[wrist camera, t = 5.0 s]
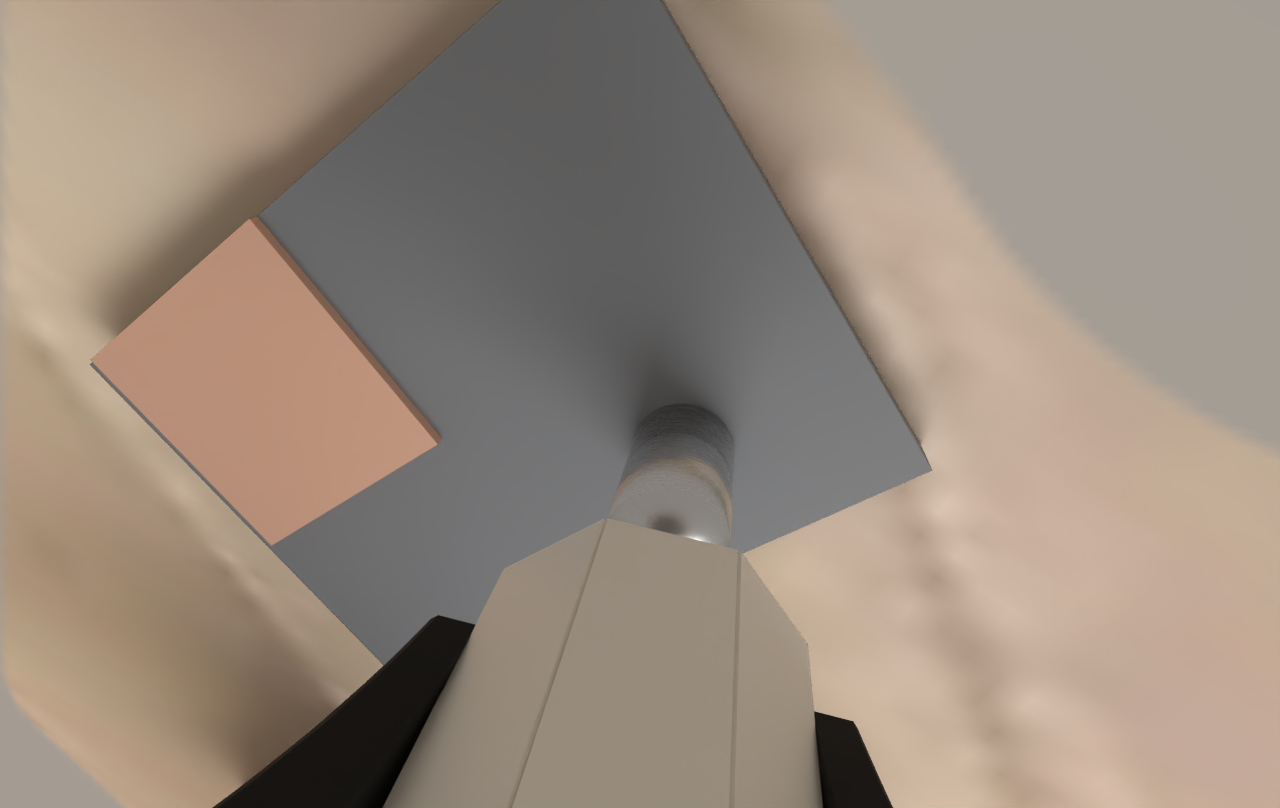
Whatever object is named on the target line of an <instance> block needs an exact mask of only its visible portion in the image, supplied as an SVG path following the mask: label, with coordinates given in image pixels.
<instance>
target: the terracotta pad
mask: <svg viewBox="0 0 1280 808" xmlns="http://www.w3.org/2000/svg"><path fill="white" fill-rule="evenodd" d="M91 361H92V362H93V363H94V364H95V365H96V366H97V367H98V368H99V369H100V370H101V371H102V372H103V373H104V375H105V376H106V377H107V378H108V379H109V380H110V381H111V382H112V383H113V384H114V385H115V386H116V387H117V388H118V389H119V390H120V391H121V392H122V393H123V394H124V395H125V396H126V397H127V398H128V399H129V400H130V401H131V402H132V403H133V404H134V405H135V406H136V407H137V408H138V409H139V410H140V411H141V412H142V413H143V415H144V416H145V417H146V418H147V419H148V420H149V421H150V422H151V423H152V424H153V425H154V426H155V427H156V428H157V429H158V430H159V431H160V432H161V433H162V434H163V435H164V436H165V437H166V438H167V439H168V440H169V441H170V442H171V443H172V444H173V445H174V446H175V447H176V448H177V449H178V450H179V451H180V452H181V453H182V454H183V456H184V457H185V458H186V459H187V460H188V461H189V462H190V463H191V464H192V465H193V466H194V467H195V468H196V469H197V470H198V471H199V472H200V473H201V474H202V475H203V476H204V477H205V478H206V479H207V480H208V481H209V482H210V483H211V484H212V485H213V486H214V487H215V488H216V489H217V490H218V491H219V492H220V493H221V494H222V496H223V497H224V498H225V499H226V500H227V501H228V502H229V503H230V504H231V505H232V506H233V507H234V508H235V509H236V510H237V511H238V512H239V513H240V514H241V515H242V516H243V517H244V518H245V519H246V520H247V521H248V522H249V523H250V524H251V525H252V526H253V527H254V528H255V529H256V530H257V531H258V532H259V533H260V534H261V535H262V537H263V538H264V539H265V540H266V541H267V542H268V543H269V544H270V545H271V546H272V545H273V544H275V543H277V542H278V541H280V540H282V539H283V538H285V537H287V536H288V535H290V534H291V533H293V532H295V531H296V530H298V529H300V528H301V527H303V526H305V525H306V524H308V523H310V522H311V521H313V520H314V519H316V518H318V517H319V516H321V515H323V514H324V513H326V512H328V511H329V510H331V509H332V508H334V507H336V506H337V505H339V504H341V503H342V502H344V501H346V500H347V499H349V498H351V497H352V496H354V495H355V494H357V493H359V492H360V491H362V490H364V489H365V488H367V487H369V486H370V485H372V484H373V483H375V482H377V481H378V480H380V479H382V478H383V477H385V476H387V475H388V474H390V473H392V472H393V471H395V470H396V469H398V468H400V467H401V466H403V465H405V464H406V463H408V462H410V461H411V460H413V459H414V458H416V457H418V456H419V455H421V454H423V453H424V452H426V451H428V450H429V449H431V448H433V447H434V446H436V445H437V444H438V443H439V442H440V441H441V440H442V438H441V437H440V436H439V435H438V433H437V432H436V431H435V430H434V429H433V427H432V426H431V425H430V424H429V423H428V421H427V420H426V419H425V418H424V417H423V415H422V414H421V413H420V412H419V411H418V409H417V408H416V407H415V406H414V405H413V403H412V402H411V401H410V400H409V399H408V397H407V396H406V395H405V394H404V392H403V391H402V390H401V389H400V388H399V386H398V385H397V384H396V383H395V382H394V380H393V379H392V378H391V377H390V376H389V374H388V373H387V372H386V371H385V370H384V368H383V367H382V366H381V365H380V364H379V362H378V361H377V360H376V359H375V358H374V356H373V355H372V354H371V353H370V352H369V350H368V349H367V348H366V347H365V346H364V344H363V343H362V342H361V341H360V339H359V338H358V337H357V336H356V335H355V333H354V332H353V331H352V330H351V329H350V327H349V326H348V325H347V324H346V323H345V321H344V320H343V319H342V318H341V317H340V315H339V314H338V313H337V312H336V311H335V309H334V308H333V307H332V306H331V305H330V303H329V302H328V301H327V300H326V299H325V297H324V296H323V295H322V294H321V293H320V291H319V290H318V289H317V288H316V287H315V285H314V284H313V283H312V282H311V280H310V279H309V278H308V277H307V276H306V274H305V273H304V272H303V271H302V270H301V268H300V267H299V266H298V265H297V264H296V262H295V261H294V260H293V259H292V258H291V256H290V255H289V254H288V253H287V252H286V250H285V249H284V248H283V247H282V246H281V244H280V243H279V242H278V241H277V240H276V238H275V237H274V236H273V235H272V234H271V232H270V231H269V230H268V229H267V227H266V226H265V225H264V224H263V223H262V221H261V220H260V219H259V218H258V217H253V218H250V219H248V220H247V221H246V222H245V223H244V224H243V225H241V226H240V227H239V228H238V229H237V230H236V231H235V232H234V233H232V234H231V235H230V236H229V237H228V238H227V239H226V240H225V241H223V242H222V243H221V244H220V245H219V246H218V247H217V248H216V249H214V250H213V251H212V252H211V253H210V254H209V255H208V256H207V257H205V258H204V259H203V260H202V261H201V262H200V263H199V264H198V265H196V266H195V267H194V268H193V269H192V270H191V271H190V272H189V273H187V274H186V275H185V276H184V277H183V278H182V279H181V280H180V281H178V282H177V283H176V284H175V285H174V286H173V287H172V288H171V289H169V290H168V291H167V292H166V293H165V294H164V295H163V296H162V297H160V298H159V299H158V300H157V301H156V302H155V303H154V304H153V305H151V306H150V307H149V308H148V309H147V310H146V311H145V312H144V313H142V314H141V315H140V316H139V317H138V318H137V319H136V320H135V321H133V322H132V323H131V324H130V325H129V326H128V327H127V328H126V329H124V330H123V331H122V332H121V333H120V334H119V335H118V336H117V337H115V338H114V339H113V340H112V341H111V342H110V343H109V344H108V345H106V346H105V347H104V348H103V349H102V350H101V351H100V352H99V353H97V354H96V355H95V356H94V357H93V358H92V359H91Z"/></svg>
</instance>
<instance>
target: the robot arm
mask: <svg viewBox="0 0 1280 808" xmlns="http://www.w3.org/2000/svg"><path fill="white" fill-rule="evenodd" d="M474 627H475V624H471V623H467V622H464V621H460V620H456V619H452V618H448V617H444V616H440V615H437V616H435V617H433V618H431V619H430V620H429V621H428V622H427V623H426V624H425V625H424V626H423V627H422V628H421V629H420V630H419V631H418V632H417V633H416V634H415V635H414V636H413V637H412V638H411V639H410V640H409V641H408V642H407V643H406V644H405V645H404V646H403V647H402V648H401V649H400V650H399V651H398V652H397V653H396V654H395V655H394V656H393V657H392V658H391V659H390V660H389V661H388V662H387V663H386V664H385V665H384V666H383V667H382V668H381V669H380V670H378V671H377V672H376V673H375V674H374V675H373V676H372V677H371V678H370V679H369V680H368V681H367V682H366V683H365V684H363V685H362V686H361V687H360V688H359V689H358V690H357V691H356V692H354V693H353V694H352V695H351V696H350V697H349V698H348V699H347V700H345V701H344V702H343V703H342V704H341V705H340V706H339V707H337V708H336V709H335V710H334V711H333V712H332V713H331V714H330V715H328V716H327V717H326V718H325V719H324V720H323V721H322V722H320V723H319V724H318V725H317V726H316V727H315V728H313V729H312V730H311V731H310V732H309V733H307V734H306V735H305V736H304V737H302V738H301V739H300V740H299V741H298V742H296V743H295V744H294V745H293V746H291V747H290V748H289V749H288V750H286V751H285V752H284V753H283V754H281V755H280V756H279V757H278V758H276V759H275V760H274V761H273V762H272V763H270V764H269V765H268V766H267V767H265V768H264V769H263V770H262V771H260V772H259V773H258V774H257V775H255V776H254V777H253V778H251V779H250V780H249V781H248V782H246V783H245V784H244V785H242V786H241V787H240V788H238V789H237V790H236V791H234V792H233V793H232V794H230V795H229V796H228V797H226V798H225V799H224V800H222V801H221V802H220V803H218V804H217V805H216V806H214V807H213V808H383V806H384V804H385V802H386V800H387V798H388V796H389V794H390V792H391V790H392V788H393V786H394V784H395V782H396V780H397V778H398V776H399V774H400V772H401V770H402V768H403V766H404V764H405V762H406V761H407V759H408V757H409V755H410V753H411V751H412V749H413V747H414V745H415V743H416V741H417V739H418V737H419V735H420V733H421V731H422V729H423V727H424V725H425V723H426V721H427V719H428V717H429V715H430V713H431V711H432V709H433V707H434V705H435V703H436V701H437V699H438V697H439V695H440V694H441V692H442V690H443V689H444V687H445V685H446V683H447V681H448V679H449V677H450V675H451V673H452V671H453V669H454V667H455V665H456V663H457V661H458V659H459V657H460V655H461V653H462V651H463V649H464V647H465V645H466V643H467V641H468V639H469V637H470V635H471V633H472V631H473V629H474ZM814 717H815V728H816V739H817V750H818V760H819V771H820V782H821V791H822V802H823V808H893V807H892V805H891V802H890V800H889V798H888V796H887V794H886V792H885V789H884V787H883V785H882V783H881V781H880V778H879V776H878V774H877V772H876V769H875V767H874V765H873V763H872V760H871V758H870V756H869V753H868V751H867V749H866V747H865V744H864V742H863V740H862V737H861V735H860V733H859V731H858V728H857V727H856V725H855V724H854V722H853V721H849V720H846V719H842V718H838V717H834V716H830V715H826V714H822V713H818V712H814Z"/></svg>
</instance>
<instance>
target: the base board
mask: <svg viewBox="0 0 1280 808" xmlns="http://www.w3.org/2000/svg"><path fill="white" fill-rule="evenodd" d="M257 217H258V218H259V219H260V220H261V221H262V223H263V224H264V225H265V226H266V227H267V229H268V230H269V231H270V232H271V234H272V235H273V236H274V237H275V238H276V240H277V241H278V242H279V243H280V244H281V246H282V247H283V248H284V249H285V250H286V252H287V253H288V254H289V255H290V256H291V258H292V259H293V260H294V261H295V262H296V264H297V265H298V266H299V267H300V268H301V270H302V271H303V272H304V273H305V274H306V276H307V277H308V278H309V279H310V280H311V282H312V283H313V284H314V285H315V287H316V288H317V289H318V290H319V291H320V293H321V294H322V295H323V296H324V297H325V299H326V300H327V301H328V302H329V303H330V305H331V306H332V307H333V308H334V309H335V311H336V312H337V313H338V314H339V315H340V317H341V318H342V319H343V320H344V321H345V323H346V324H347V325H348V326H349V327H350V329H351V330H352V331H353V332H354V333H355V335H356V336H357V337H358V338H359V339H360V341H361V342H362V343H363V344H364V346H365V347H366V348H367V349H368V350H369V352H370V353H371V354H372V355H373V356H374V358H375V359H376V360H377V361H378V362H379V364H380V365H381V366H382V367H383V368H384V370H385V371H386V372H387V373H388V374H389V376H390V377H391V378H392V379H393V380H394V382H395V383H396V384H397V385H398V386H399V388H400V389H401V390H402V391H403V392H404V394H405V395H406V396H407V397H408V399H409V400H410V401H411V402H412V403H413V405H414V406H415V407H416V408H417V409H418V411H419V412H420V413H421V414H422V415H423V417H424V418H425V419H426V420H427V421H428V423H429V424H430V425H431V426H432V427H433V429H434V430H435V431H436V432H437V433H438V435H439V436H440V437H441V438H442V440H441V441H440V442H439V443H438V444H437V445H436V446H434V447H433V448H431V449H429V450H428V451H426V452H424V453H423V454H421V455H419V456H418V457H416V458H414V459H413V460H411V461H410V462H408V463H406V464H405V465H403V466H401V467H400V468H398V469H396V470H395V471H393V472H392V473H390V474H388V475H387V476H385V477H383V478H382V479H380V480H378V481H377V482H375V483H373V484H372V485H370V486H369V487H367V488H365V489H364V490H362V491H360V492H359V493H357V494H355V495H354V496H352V497H351V498H349V499H347V500H346V501H344V502H342V503H341V504H339V505H337V506H336V507H334V508H332V509H331V510H329V511H328V512H326V513H324V514H323V515H321V516H319V517H318V518H316V519H314V520H313V521H311V522H310V523H308V524H306V525H305V526H303V527H301V528H300V529H298V530H296V531H295V532H293V533H291V534H290V535H288V536H287V537H285V538H283V539H282V540H280V541H278V542H277V543H275V544H273V545H272V546H271V545H270V544H269V543H268V542H267V541H266V540H265V539H264V538H263V537H262V535H261V534H260V533H259V532H258V531H257V530H256V529H255V528H254V527H253V526H252V525H251V524H250V523H249V522H248V521H247V520H246V519H245V518H244V517H243V516H242V515H241V514H240V513H239V512H238V511H237V510H236V509H235V508H234V507H233V506H232V505H231V504H230V503H229V502H228V501H227V500H226V499H225V498H224V497H223V496H222V494H221V493H220V492H219V491H218V490H217V489H216V488H215V487H214V486H213V485H212V484H211V483H210V482H209V481H208V480H207V479H206V478H205V477H204V476H203V475H202V474H201V473H200V472H199V471H198V470H197V469H196V468H195V467H194V466H193V465H192V464H191V463H190V462H189V461H188V460H187V459H186V458H185V457H184V456H183V454H182V453H181V452H180V451H179V450H178V449H177V448H176V447H175V446H174V445H173V444H172V443H171V442H170V441H169V440H168V439H167V438H166V437H165V436H164V435H163V434H162V433H161V432H160V431H159V430H158V429H157V428H156V427H155V426H154V425H153V424H152V423H151V422H150V421H149V420H148V419H147V418H146V417H145V416H144V415H143V413H142V412H141V411H140V410H139V409H138V408H137V407H136V406H135V405H134V404H133V403H132V402H131V401H130V400H129V399H128V398H127V397H126V396H125V395H124V394H123V393H122V392H121V391H120V390H119V389H118V388H117V387H116V386H115V385H114V384H113V383H112V382H111V381H110V380H109V379H108V378H107V377H106V376H105V375H104V373H103V372H102V371H101V370H100V369H99V368H98V367H97V366H96V365H95V364H94V363H93V362H92V363H91V364H90V365H91V366H92V367H93V368H94V369H95V370H96V371H97V372H98V373H99V374H100V375H101V377H102V378H103V379H104V380H105V381H106V382H107V383H108V384H109V385H110V386H111V387H112V388H113V389H114V390H115V391H116V392H117V393H118V394H119V395H120V396H121V397H122V398H123V399H124V400H125V401H126V402H127V403H128V404H129V405H130V406H131V407H132V408H133V409H134V410H135V411H136V412H137V413H138V414H139V415H140V416H141V417H142V418H143V419H144V420H145V422H146V423H147V424H148V425H149V426H150V427H151V428H152V429H153V430H154V431H155V432H156V433H157V434H158V435H159V436H160V437H161V438H162V439H163V440H164V441H165V442H166V443H167V444H168V445H169V446H170V447H171V448H172V449H173V450H174V451H175V452H176V453H177V454H178V455H179V456H180V457H181V458H182V459H183V460H184V461H185V462H186V463H187V464H188V465H189V467H190V468H191V469H192V470H193V471H194V472H195V473H196V474H197V475H198V476H199V477H200V478H201V479H202V480H203V481H204V482H205V483H206V484H207V485H208V486H209V487H210V488H211V489H212V490H213V491H214V492H215V493H216V494H217V495H218V496H219V497H220V498H221V499H222V500H223V501H224V502H225V503H226V504H227V505H228V506H229V507H230V508H231V509H232V510H233V511H234V513H235V514H236V515H237V516H238V517H239V518H240V519H241V520H242V521H243V522H244V523H245V524H246V525H247V526H248V527H249V528H250V529H251V530H252V531H253V532H254V533H255V534H256V535H257V536H258V537H259V538H260V539H261V540H262V541H263V542H264V543H265V544H266V545H267V546H268V547H269V548H270V549H271V550H272V551H273V552H274V553H275V554H276V555H277V556H278V558H279V559H280V560H281V561H282V562H283V563H284V564H285V565H286V566H287V567H288V568H289V569H290V570H291V571H292V572H293V573H294V574H295V575H296V576H297V577H298V578H299V579H300V580H301V581H302V582H303V583H304V584H305V585H306V586H307V587H308V588H309V589H310V590H311V591H312V592H313V593H314V594H315V595H316V596H317V597H318V598H319V599H320V600H321V601H322V603H323V604H324V605H325V606H326V607H327V608H328V609H329V610H330V611H331V612H332V613H333V614H334V615H335V616H336V617H337V618H338V619H339V620H340V621H341V622H342V623H343V624H344V625H345V626H346V627H347V628H348V629H349V630H350V631H351V632H352V633H353V634H354V635H355V636H356V637H357V638H358V639H359V640H360V641H361V642H362V643H363V644H364V645H365V646H366V648H367V649H368V650H369V651H370V652H371V653H372V654H373V655H374V656H375V657H376V658H377V659H378V660H379V661H380V662H381V663H382V664H383V665H385V664H386V663H387V662H388V661H389V660H390V659H391V658H392V657H393V656H394V655H395V654H396V653H397V652H398V651H399V650H400V649H401V648H402V647H403V646H404V645H405V644H406V643H407V642H408V641H409V640H410V639H411V638H412V637H413V636H414V635H415V634H416V633H417V632H418V631H419V630H420V629H421V628H422V627H423V626H424V625H425V624H426V623H427V622H428V621H429V620H430V619H431V618H433V617H435V616H437V615H440V616H444V617H448V618H452V619H456V620H460V621H464V622H467V623H471V624H476V622H477V620H478V618H479V616H480V614H481V612H482V610H483V608H484V606H485V604H486V602H487V600H488V598H489V597H490V595H491V593H492V591H493V589H494V587H495V585H496V583H497V581H498V579H499V577H500V575H501V573H502V571H503V570H504V568H506V567H508V566H510V565H512V564H514V563H516V562H518V561H520V560H522V559H524V558H526V557H528V556H530V555H532V554H534V553H536V552H538V551H540V550H542V549H544V548H546V547H548V546H550V545H552V544H554V543H556V542H558V541H560V540H562V539H564V538H566V537H568V536H570V535H572V534H574V533H576V532H578V531H580V530H582V529H584V528H586V527H588V526H590V525H592V524H594V523H596V522H598V521H600V520H602V519H604V520H605V521H607V518H608V515H609V512H610V509H611V506H612V503H613V500H614V497H615V494H616V491H617V488H618V485H619V482H620V479H621V476H622V473H623V470H624V467H625V464H626V461H627V458H628V455H629V451H630V448H631V445H632V442H633V439H634V436H635V433H636V431H637V429H638V427H639V425H640V424H641V422H642V421H643V420H644V419H645V418H646V417H647V416H648V415H649V414H650V413H652V412H653V411H655V410H657V409H659V408H661V407H664V406H667V405H673V404H690V405H695V406H699V407H702V408H704V409H706V410H708V411H710V412H712V413H714V414H715V415H716V416H717V417H719V418H720V419H721V420H722V421H723V422H724V424H725V425H726V426H727V427H728V429H729V431H730V433H731V435H732V438H733V441H734V447H735V456H734V476H733V496H732V516H731V536H730V548H732V549H736V550H738V554H739V553H741V552H742V553H745V552H747V551H749V550H752V549H754V548H756V547H758V546H761V545H763V544H765V543H768V542H770V541H772V540H774V539H777V538H779V537H781V536H784V535H786V534H788V533H790V532H793V531H795V530H797V529H800V528H802V527H804V526H806V525H809V524H811V523H813V522H816V521H818V520H820V519H822V518H825V517H827V516H829V515H831V514H834V513H836V512H838V511H841V510H843V509H845V508H847V507H850V506H852V505H854V504H857V503H859V502H861V501H863V500H866V499H868V498H870V497H873V496H875V495H877V494H879V493H882V492H884V491H886V490H889V489H891V488H893V487H895V486H898V485H900V484H902V483H905V482H907V481H909V480H911V479H914V478H916V477H918V476H921V475H923V474H925V473H927V472H930V471H932V469H931V466H930V464H929V462H928V460H927V457H926V455H925V453H924V451H923V449H922V446H921V445H920V443H919V441H918V440H917V438H916V436H915V434H914V433H913V431H912V429H911V427H910V426H909V424H908V422H907V421H906V419H905V417H904V415H903V414H902V412H901V410H900V409H899V407H898V405H897V403H896V402H895V400H894V398H893V396H892V395H891V393H890V391H889V390H888V388H887V386H886V384H885V383H884V381H883V379H882V377H881V376H880V374H879V372H878V371H877V369H876V367H875V365H874V364H873V362H872V360H871V358H870V357H869V355H868V353H867V352H866V350H865V348H864V346H863V345H862V343H861V341H860V340H859V338H858V336H857V334H856V333H855V331H854V329H853V327H852V326H851V324H850V322H849V321H848V319H847V317H846V315H845V314H844V312H843V310H842V308H841V307H840V305H839V303H838V302H837V300H836V298H835V296H834V295H833V293H832V291H831V289H830V288H829V286H828V284H827V283H826V281H825V279H824V277H823V276H822V274H821V272H820V271H819V269H818V267H817V265H816V264H815V262H814V260H813V258H812V257H811V255H810V253H809V252H808V250H807V248H806V246H805V245H804V243H803V241H802V239H801V238H800V236H799V234H798V233H797V231H796V229H795V227H794V226H793V224H792V222H791V220H790V219H789V217H788V215H787V214H786V212H785V210H784V208H783V207H782V205H781V203H780V202H779V200H778V198H777V196H776V195H775V193H774V191H773V189H772V188H771V186H770V184H769V183H768V181H767V179H766V177H765V176H764V174H763V172H762V170H761V169H760V167H759V165H758V164H757V162H756V160H755V158H754V157H753V155H752V153H751V151H750V150H749V148H748V146H747V145H746V143H745V141H744V139H743V138H742V136H741V134H740V133H739V131H738V129H737V127H736V126H735V124H734V122H733V120H732V119H731V117H730V115H729V114H728V112H727V110H726V108H725V107H724V105H723V103H722V101H721V100H720V98H719V96H718V95H717V93H716V91H715V89H714V88H713V86H712V84H711V82H710V81H709V79H708V77H707V76H706V74H705V72H704V70H703V69H702V67H701V65H700V63H699V62H698V60H697V58H696V57H695V55H694V53H693V51H692V50H691V48H690V46H689V45H688V43H687V41H686V39H685V38H684V36H683V34H682V32H681V31H680V29H679V27H678V26H677V24H676V22H675V20H674V19H673V17H672V15H671V13H670V12H669V10H668V8H667V7H666V5H665V3H664V1H663V0H501V1H500V2H499V3H498V4H497V5H496V6H494V7H493V8H492V9H491V10H490V11H489V12H488V13H486V14H485V15H484V16H483V17H482V18H481V19H480V20H479V21H477V22H476V23H475V24H474V25H473V26H472V27H471V28H470V29H468V30H467V31H466V32H465V33H464V34H463V35H462V36H460V37H459V38H458V39H457V40H456V41H455V42H454V43H453V44H451V45H450V46H449V47H448V48H447V49H446V50H445V51H444V52H442V53H441V54H440V55H439V56H438V57H437V58H436V59H434V60H433V61H432V62H431V63H430V64H429V65H428V66H427V67H425V68H424V69H423V70H422V71H421V72H420V73H419V74H418V75H416V76H415V77H414V78H413V79H412V80H411V81H410V82H408V83H407V84H406V85H405V86H404V87H403V88H402V89H401V90H399V91H398V92H397V93H396V94H395V95H394V96H393V97H392V98H390V99H389V100H388V101H387V102H386V103H385V104H384V105H382V106H381V107H380V108H379V109H378V110H377V111H376V112H375V113H373V114H372V115H371V116H370V117H369V118H368V119H367V120H366V121H364V122H363V123H362V124H361V125H360V126H359V127H358V128H356V129H355V130H354V131H353V132H352V133H351V134H350V135H349V136H347V137H346V138H345V139H344V140H343V141H342V142H341V143H340V144H338V145H337V146H336V147H335V148H334V149H333V150H332V151H330V152H329V153H328V154H327V155H326V156H325V157H324V158H323V159H321V160H320V161H319V162H318V163H317V164H316V165H315V166H314V167H312V168H311V169H310V170H309V171H308V172H307V173H306V174H304V175H303V176H302V177H301V178H300V179H299V180H298V181H297V182H295V183H294V184H293V185H292V186H291V187H290V188H289V189H288V190H286V191H285V192H284V193H283V194H282V195H281V196H280V197H279V198H277V199H276V200H275V201H274V202H273V203H272V204H271V205H269V206H268V207H267V208H266V209H265V210H264V211H263V212H262V213H260V214H259V215H258V216H257Z"/></svg>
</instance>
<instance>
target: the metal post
mask: <svg viewBox="0 0 1280 808" xmlns="http://www.w3.org/2000/svg"><path fill="white" fill-rule="evenodd" d="M734 456H735V447H734V441H733V438H732V435H731V433H730V431H729V429H728V427H727V426H726V425H725V424H724V422H723V421H722V420H721V419H720V418H719V417H717V416H716V415H715V414H714V413H712V412H710V411H708V410H706V409H704V408H702V407H699V406H695V405H690V404H673V405H667V406H664V407H661V408H659V409H657V410H655V411H653V412H652V413H650V414H649V415H648V416H647V417H646V418H645V419H644V420H643V421H642V422H641V424H640V425H639V427H638V429H637V431H636V433H635V436H634V439H633V442H632V445H631V448H630V451H629V455H628V458H627V461H626V464H625V467H624V470H623V473H622V476H621V479H620V482H619V485H618V488H617V491H616V494H615V497H614V500H613V503H612V506H611V509H610V512H609V515H608V518H609V519H613V520H617V521H621V522H625V523H629V524H633V525H638V526H642V527H646V528H650V529H654V530H658V531H662V532H666V533H670V534H675V535H679V536H683V537H687V538H691V539H695V540H699V541H703V542H707V543H712V544H716V545H720V546H724V547H728V548H730V536H731V516H732V496H733V476H734ZM608 518H607V519H608ZM606 522H607V521H606Z"/></svg>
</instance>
